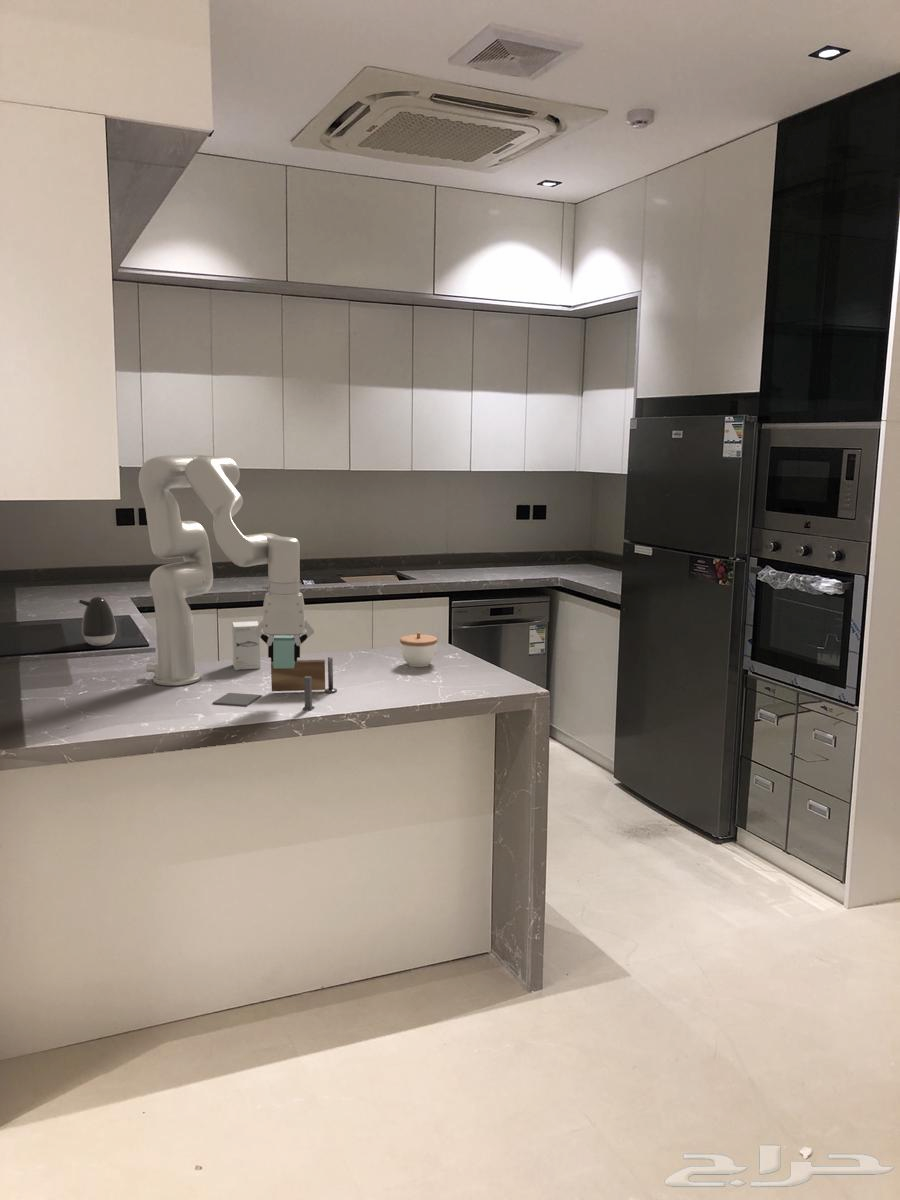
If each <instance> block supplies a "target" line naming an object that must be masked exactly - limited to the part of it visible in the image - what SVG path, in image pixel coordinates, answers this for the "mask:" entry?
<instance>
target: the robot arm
mask: <svg viewBox="0 0 900 1200" xmlns="http://www.w3.org/2000/svg"><path fill="white" fill-rule="evenodd" d="M240 472H241V471H240V468H239V466H238V465H237V463H236V462H235V461H234V460H233V459H232V458H230V457H228V456H224V455H204V454H203V455H202V454H183V455H181V454H180V455H176V454H173V455H172V454H171V455H158V456H155V457H152V458H149V459H147V460H146V461H145V462H144V463H143V465H142V466H141V468H140V471H139V473H138V487H139V491H140V494H141V497H142V500H143V504H144V509H145V513H146V514H145V515H146V521H147V522H146V523H147V527H148V528H147V529H148V536H149V543H150V549H151V551H152V553H153V555H154V556H155V557H156V558H158V559H163V560H167V559H168V560H170V559H178V558H183V561H180V562H179V561H178V562H175V563H174V562H173V563H167V564H163V565H161V566H159V567H157V568H155V569H154V570H153V571H152V572H151V574H150V577H149V587H150V588H149V589H150V591H151V592H150V593H151V596H152V601H153V605H154V612H155V627H156V631H155V632H156V644H157V645H156V646H157V647H156V648H157V663H152V662H151V663H150V662H148V663H146V668H145V670H146V672H149V673H154V675H153V677H152V681H153V683H154V684H156V685H161V686H169V687H171V686H174V687H175V686H185V685H190V684H194V683H198V681H201V679H202V674H201V672H199V671H198V670H197V671H196V657H195V655H196V654H195V639H194V638H195V637H194V635H195V634H194V618H193V612H192V610H191V607H190V605H189V604H188V602H187V600H186V598H189V597H195V596H200V595H201V596H202V595H205V594H206V593H208V592H209V591H210V590H211V588H212V586H213V582H214V570H213V563H212V556H211V554H212V553H211V547H210V541H209V536H208V534H207V531H206V529H205V528H204V527H203V525H202V524H200V523H199V522H198V521H195V520H182V519H181V518H182V517H181V513H180V506H179V503H178V501H177V500H176V498H175V496H174V495H173V493H172V492H171V491H170V490H171V489H184V488H186V489H187V488H192V489H193V491H194V492H195V493H196V494H197V496H198V497H199V499H200V500H201V501H202V502H203V504H204V505H205V506H206V507H207V509H208V510H209V512H210V513H211V514H212V515H213V522H212V523H213V525H212V528H213V534H214V537H215V538H214V539H215V541H216V543H217V545H218V547H219V548H220V549H221V550H222V551H223V553H224V554H225V556H226V557H227V558H228V559H229V560H230V561H231V562H232V563H233V564H234V565H236V566H238V567H243V568H246V567H247V568H248V567H252V566H258V565H267V566H268V567H267V568H268V569H267V571H268V572H267V575H268V576H267V579H268V581H266V582H263V583H262V588H261V589H265V590H267V591H268V592H266V593H265V595H264V600H263V605H262V606H263V608H262V609H263V610H262V620H261V621H260V622H258V624H259V625H258V626H257V627H256V628H255V629H254V633H255V634H256V635H257V636H259V637H260V640H262V641H263V642H264V643H265V644H266V646H267V650H268V651H267V655H268V657H267V658H269V659H270V663H271V662H273V640H274V636H294V639H295V645H294V661H295V662H297V660H298V658H299V659H300V658H301V645H302V644H303V643H304V642H305V641H306V640H307V639H308V638H310V637H311V636H312V635H313V634H314V633H315V629H314V628H313V627H312V625H311V624H310V623H309V622H308V621H307V619H306V612H305V611H306V609H305V602H304V601H305V600H304V595H303V593H302V592H301V590H300V587H301V586H300V583H301V582H300V581H301V580H300V579H301V577H300V576H301V574H300V570H301V569H300V567H301V566H300V564H301V563H300V562H301V560H300V557H301V556H300V555H301V546H300V545H301V544H300V541H299V540H298V539H297V538H295V537H292V536H291V537H289V536H281V535H278V534H275V533H271V532H262V533H254V534H253V533H252V534H246V535H244V534H243V533H242V532H241V531H240V530H239V529H238V527H237V526H236V524H235V523H234V521H233V519H232V518H233V517H234V516H235V515H236V514H237V513H238V512H239V511H240V510H241V508H242V506H243V504H244V499H243V496H242V495H241V493H240V492H239V491H238V489H236V487H235V486H237V484H238V483H239V481H240V476H241V473H240ZM305 629H306V632H305ZM262 630H263V631H262Z"/></svg>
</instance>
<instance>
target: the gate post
mask: <svg viewBox="0 0 900 1200" xmlns="http://www.w3.org/2000/svg"><path fill="white" fill-rule="evenodd" d="M333 660H334V659H333V657H332V656H330V657H327V680H328V681H327V685H328V688H325V690H324V693H326V694H334V693H337V692H338V689H337V688H335V687H334V667H333V663H334V661H333Z"/></svg>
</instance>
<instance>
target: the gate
mask: <svg viewBox="0 0 900 1200" xmlns="http://www.w3.org/2000/svg"><path fill="white" fill-rule="evenodd" d="M270 675H271V692H290V691H291V692H293V691H294V692H295V691H297V692H298V691H304V677H306V676H312V691H325V689H326V660H325V659H300V660H299V659H297V662H295V665H294V668H273V662H271V661H270Z"/></svg>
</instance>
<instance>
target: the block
mask: <svg viewBox="0 0 900 1200" xmlns="http://www.w3.org/2000/svg"><path fill="white" fill-rule="evenodd" d="M294 645H295V639H294V635H274V638H273V668H294V665H295V661H294Z"/></svg>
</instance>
